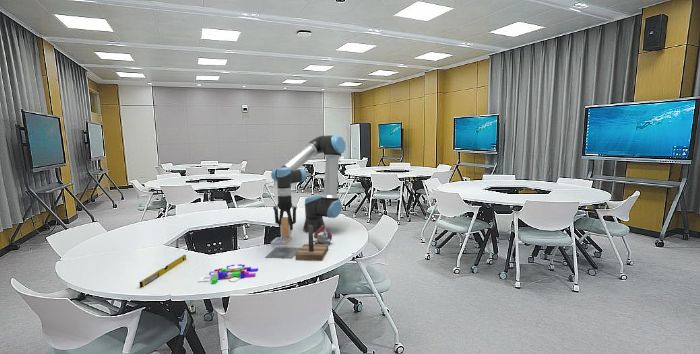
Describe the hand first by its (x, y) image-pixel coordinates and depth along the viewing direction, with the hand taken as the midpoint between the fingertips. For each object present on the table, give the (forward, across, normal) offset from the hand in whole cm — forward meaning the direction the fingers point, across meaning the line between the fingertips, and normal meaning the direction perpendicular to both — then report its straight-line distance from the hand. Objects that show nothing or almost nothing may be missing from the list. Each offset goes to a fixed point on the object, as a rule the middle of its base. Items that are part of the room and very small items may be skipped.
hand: (286, 235), depth 193 cm
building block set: (+9, -16, -36) cm, 40 cm away
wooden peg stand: (+8, +17, -7) cm, 20 cm away
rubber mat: (+8, 0, -6) cm, 10 cm away
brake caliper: (+8, +19, +12) cm, 24 cm away
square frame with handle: (+2, 0, -6) cm, 6 cm away
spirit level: (+9, -49, -37) cm, 62 cm away
